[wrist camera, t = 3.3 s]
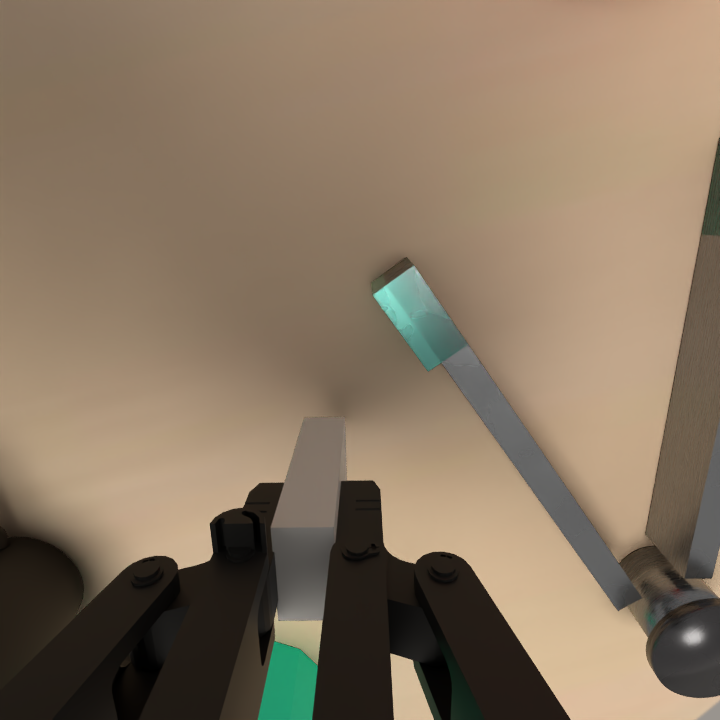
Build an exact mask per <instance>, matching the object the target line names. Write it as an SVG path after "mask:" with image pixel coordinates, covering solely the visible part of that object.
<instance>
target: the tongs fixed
mask: <svg viewBox="0 0 720 720" xmlns="http://www.w3.org/2000/svg"><path fill="white" fill-rule="evenodd" d="M646 536H647V537H648V538H649V539H650V540H651V541H652V542H653V544H654V545H655V546H650V547H645V548H641V549H639V550H636V551H634V552H632V553H631V554H629V555H628V556H627V557H625V558H624V559H623V560H622V561H621V563H620V564H619V565H620V566H621V568H622V569H623V571H624V572H625V574H626V575H627V576H628V578H629V579H630V581H631V582H632V584H633V585H634V587H635V588H636V590H637V591H638V592H639V594H640V595H641V597H642V599H640V600H638V601H636V602H634V603H632V604H630V605H628V606H627V607H628V608H629V610H630V611H631V613H632V614H633V616H634V617H635V619H636V620H637V622H638V623H639V625H640V626H641V628H642V629H643V631H644V632H645V634H646V635H647V637H648V640H647V644H646V656H647V660H648V662H649V665H650V666H651V668H652V669H653V671H654V673H655V674H656V676H657V677H658V679H659V680H660V682H661V683H662V684H663V685H664V686H665V687H666V688H668V689H669V690H671V691H673V692H675V693H677V694H680V695H683V696H687V697H694V698H707V697H714V696H719V695H720V598H719V597H718V596H717V595H716V594H715V593H714V592H713V591H712V590H711V589H710V588H709V587H708V585H707V584H706V583H705V582H704V581H703V580H702V579H705V578H712V576H713V572H714V568H715V564H716V560H717V555H718V551H719V547H720V138H719V144H718V149H717V154H716V160H715V165H714V171H713V176H712V181H711V187H710V192H709V197H708V203H707V208H706V213H705V219H704V224H703V229H702V235H701V240H700V245H699V251H698V256H697V262H696V267H695V272H694V278H693V283H692V288H691V294H690V299H689V304H688V310H687V315H686V320H685V326H684V331H683V336H682V342H681V347H680V353H679V358H678V363H677V369H676V374H675V379H674V385H673V390H672V395H671V401H670V406H669V411H668V417H667V422H666V427H665V433H664V438H663V444H662V449H661V454H660V460H659V465H658V470H657V476H656V481H655V486H654V492H653V497H652V502H651V508H650V513H649V519H648V524H647V529H646Z"/></svg>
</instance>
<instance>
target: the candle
mask: <svg viewBox="0 0 720 720" xmlns="http://www.w3.org/2000/svg"><path fill="white" fill-rule="evenodd" d="M317 669H318V666H317V665H316V664H315V663H314V662H313V661H312V660H311V659H310V658H309V657H308V656H307V655H306V654H304V653H303V652H302V651H301V650H300V649H298V648H294V647H291V646H288V645H284V644H281V643H278V642H275V641H274V645H273V650H272V654H271V659H270V664H269V668H268V673H267V678H266V683H265V687H264V692H263V697H262V702H261V706H260V711H259V716H258V720H312V715H313V706H314V697H315V688H316V678H317Z"/></svg>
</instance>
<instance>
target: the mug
mask: <svg viewBox="0 0 720 720" xmlns="http://www.w3.org/2000/svg"><path fill="white" fill-rule="evenodd" d="M82 599H83V582H82V577H81V575H80V573H79V571H78V569H77V567H76V566H75V564H74V563H73V562H72V561H71V559H70V558H69V557H67V556H66V555H65V554H64V553H63V552H62V551H60V550H59V549H57V548H55V547H54V546H52V545H50V544H48V543H45V542H43V541H40V540H37V539H32V538H27V537H11V538H8V535H7V533H6V531H5V530H4V529H3V528H2V527H1V526H0V690H1V689H2V688H3V687H4V686H5V685H6V684H7V683H8V682H9V681H10V680H11V679H12V678H13V677H14V676H15V675H17V674H18V673H19V672H20V671H21V670H22V669H23V668H24V667H25V666H26V665H27V664H28V663H29V662H30V661H31V660H32V659H33V658H34V657H35V656H36V655H37V654H38V653H39V652H40V651H41V650H42V649H43V648H44V647H45V646H46V645H47V644H48V643H49V642H50V641H51V640H52V639H53V638H54V637H55V636H56V635H57V634H59V633H60V632H61V631H62V630H63V629H64V628H65V627H66V626H67V625H68V624H69V623H70V622H71V621H72V620H73V619H74V618H75V617H76V614H77V611H78V608H79V606H80V603H81V601H82Z"/></svg>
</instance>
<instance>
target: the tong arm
mask: <svg viewBox="0 0 720 720" xmlns="http://www.w3.org/2000/svg"><path fill="white" fill-rule="evenodd" d="M371 287H372V295H373V296H374V298H375V299H376V301H377V302H378V303H379V305H380V306H381V307H382V309H383V310H384V312H385V313H386V314H387V316H388V317H389V319H390V320H391V321H392V323H393V324H394V325H395V327H396V328H397V330H398V331H399V332H400V334H401V335H402V336H403V338H404V339H405V341H406V342H407V343H408V345H409V346H410V347H411V349H412V350H413V352H414V353H415V354H416V356H417V357H418V359H419V360H420V361H421V363H422V364H423V365H424V367H425V368H426V370H427V371H430V370H431V369H433V368H434V367H436V366H437V365H439V364H440V363H442V364H443V366H444V367H445V369H446V370H447V371H448V373H449V374H450V376H451V377H452V378H453V380H454V381H455V383H456V384H457V385H458V387H459V388H460V390H461V391H462V393H463V394H464V395H465V397H466V398H467V400H468V401H469V402H470V404H471V405H472V407H473V408H474V409H475V411H476V412H477V414H478V415H479V416H480V418H481V419H482V421H483V422H484V423H485V425H486V426H487V428H488V429H489V430H490V432H491V433H492V435H493V436H494V437H495V439H496V440H497V442H498V443H499V444H500V446H501V447H502V449H503V450H504V452H505V453H506V454H507V456H508V457H509V459H510V460H511V461H512V463H513V464H514V466H515V467H516V468H517V470H518V471H519V473H520V474H521V475H522V477H523V478H524V480H525V481H526V482H527V484H528V485H529V487H530V488H531V489H532V491H533V492H534V494H535V495H536V496H537V498H538V499H539V501H540V502H541V503H542V505H543V506H544V508H545V509H546V511H547V512H548V513H549V515H550V516H551V518H552V519H553V520H554V522H555V523H556V525H557V526H558V527H559V529H560V530H561V532H562V533H563V534H564V536H565V537H566V539H567V540H568V541H569V543H570V544H571V546H572V547H573V548H574V550H575V551H576V553H577V554H578V555H579V557H580V558H581V560H582V561H583V562H584V564H585V565H586V567H587V568H588V569H589V571H590V572H591V574H592V575H593V577H594V578H595V579H596V581H597V582H598V584H599V585H600V586H601V588H602V589H603V591H604V592H605V593H606V595H607V596H608V598H609V599H610V600H611V602H612V603H613V605H614V606H615V607H616V609H617V610H618V611H619V610H621V609H622V608H624V607H626V606H628V605H630V604H632V603H634V602H636V601H638V600H640V599H642V597H641V595H640V594H639V592H638V591H637V590H636V588H635V587H634V585H633V584H632V582H631V581H630V579H629V578H628V576H627V575H626V574H625V572H624V571H623V569H622V568H621V566H620V565H619V563H618V562H617V560H616V559H615V557H614V556H613V555H612V553H611V552H610V550H609V549H608V547H607V546H606V544H605V543H604V541H603V540H602V539H601V537H600V536H599V534H598V533H597V531H596V530H595V528H594V527H593V525H592V524H591V523H590V521H589V520H588V518H587V517H586V515H585V514H584V512H583V511H582V509H581V508H580V506H579V505H578V504H577V502H576V501H575V499H574V498H573V496H572V495H571V493H570V492H569V490H568V489H567V488H566V486H565V485H564V483H563V482H562V480H561V479H560V477H559V476H558V474H557V473H556V472H555V470H554V469H553V467H552V466H551V464H550V463H549V461H548V460H547V458H546V457H545V456H544V454H543V453H542V451H541V450H540V448H539V447H538V445H537V444H536V442H535V441H534V439H533V438H532V437H531V435H530V434H529V432H528V431H527V429H526V428H525V426H524V425H523V423H522V422H521V421H520V419H519V418H518V416H517V415H516V413H515V412H514V410H513V409H512V407H511V406H510V405H509V403H508V402H507V400H506V399H505V397H504V396H503V394H502V393H501V391H500V390H499V389H498V387H497V386H496V384H495V383H494V381H493V380H492V378H491V377H490V375H489V374H488V372H487V371H486V370H485V368H484V367H483V365H482V364H481V362H480V361H479V359H478V358H477V356H476V355H475V354H474V352H473V351H472V349H471V348H470V346H469V345H468V343H467V342H466V340H465V339H464V338H463V336H462V335H461V333H460V332H459V330H458V329H457V327H456V326H455V324H454V323H453V322H452V320H451V319H450V317H449V316H448V314H447V313H446V311H445V310H444V308H443V307H442V305H441V304H440V303H439V301H438V300H437V298H436V297H435V295H434V294H433V292H432V291H431V289H430V288H429V287H428V285H427V284H426V282H425V281H424V279H423V278H422V276H421V275H420V273H419V272H418V271H417V269H416V268H415V266H414V265H413V264H412V263H411V262H410V261H409V259H408V258H407V257H406V258H405V259H403V260H402V261H401V262H399V263H398V264H397V265H395V266H394V267H392V268H391V269H390V270H388V271H387V272H386V273H384V274H383V275H381V276H380V277H379V278H377V279H376V280H375V281H373V282H372V283H371Z"/></svg>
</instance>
